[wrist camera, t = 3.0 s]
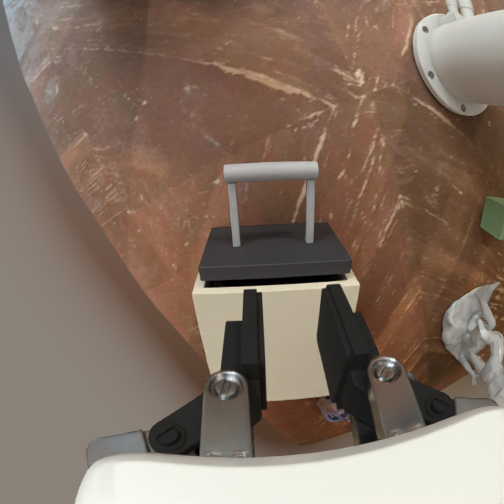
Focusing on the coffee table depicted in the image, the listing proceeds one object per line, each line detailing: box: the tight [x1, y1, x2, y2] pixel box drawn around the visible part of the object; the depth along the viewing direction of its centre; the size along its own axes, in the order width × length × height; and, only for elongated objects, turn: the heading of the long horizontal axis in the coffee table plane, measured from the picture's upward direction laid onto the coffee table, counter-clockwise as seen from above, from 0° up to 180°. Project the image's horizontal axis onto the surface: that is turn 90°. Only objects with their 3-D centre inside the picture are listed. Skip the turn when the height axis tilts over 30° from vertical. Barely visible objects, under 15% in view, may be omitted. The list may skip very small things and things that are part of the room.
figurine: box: [442, 282, 504, 407], centre depth 27 cm, size 18×13×18 cm
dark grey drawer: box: [198, 161, 352, 288], centre depth 25 cm, size 20×11×8 cm, turn 3°
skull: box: [317, 395, 350, 422], centre depth 40 cm, size 12×8×6 cm, turn 24°
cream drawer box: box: [192, 270, 360, 401], centre depth 27 cm, size 15×13×10 cm
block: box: [480, 196, 504, 240], centre depth 25 cm, size 4×4×4 cm
